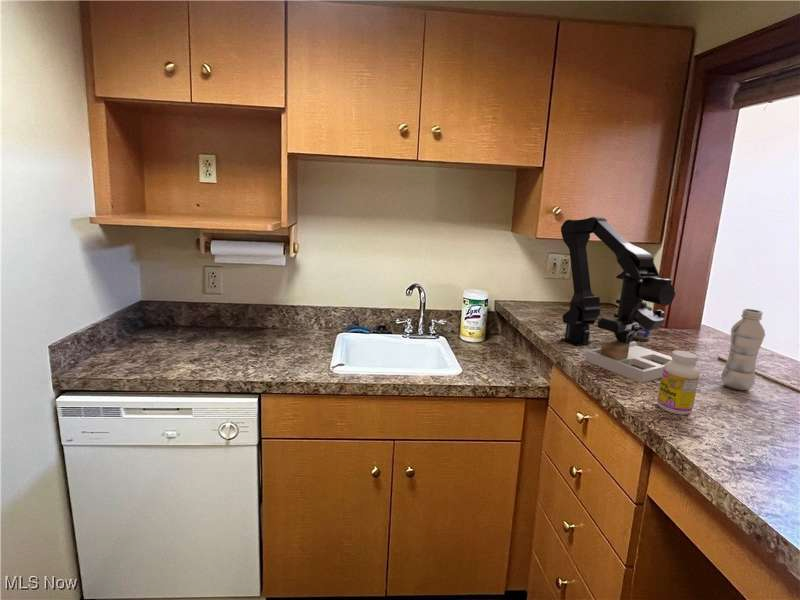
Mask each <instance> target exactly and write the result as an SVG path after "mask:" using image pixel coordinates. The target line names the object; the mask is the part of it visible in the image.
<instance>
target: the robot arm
mask: <svg viewBox="0 0 800 600" xmlns="http://www.w3.org/2000/svg"><path fill="white" fill-rule="evenodd" d="M560 233H561V236H562V241H563V242H564V244H565V245H566V246H567V247H568V250H569V259H570V267H571V268H570V269H571V276H572V284H573V295H572V298H571V300H570V302H569V305H570V306H569V310H567V312H565V313H564V314H563V315H562V318H561V319H562V322H563V323H564V324H566V327H565V334H564V337H562V338H561V341H564V342H566V343H570V344H571V345H574V346H583V345H589V344H591V341H590V340H589V339H590V333H591V332H590V331H591V330H590V327H591V325H594V324H595V323H596V320H597V319H598V318H599V316H601V315H600V314H601V310H602V308H601V301H600V300H601V299H600V296H598V295H597V296H595V295H594V294H593V292H592V288H591V287H592V286H591V279H590V270H589V269H590V268H589V261H588V260H589V259H588V252H587V246H588V243H589V241H590V238H591V234H594V235H595V236H596V237H597V238H598V239H599V240H600V241H601V242H602V243H603V244H604V245H605V246H606V247H607V248H608V249H609V250H610V251H611V252H612V253H613V254H614V255H615V257H616V262H617V264H618V265H619V266H620V268H621V270H622V272H621V273H619V274H618V275H616V277H615V278H616V279H618V280H622V282H621V283H622V284H621V288H620V289H621V290H620V296H619V299H615V304H618V308H617V312H615V313H614V314H613V317H611V316H605V317H604V316H603V317H600V318H599V319H598V320H597V326H596V327H597V328H599V329H602V330H606V331H609V332H612V333H613V334H614V335H615V338H616V340H617V341H620V342H623V343H626V344H630V342H632V340H634V339H633V337H634V335H635V334H636V333H638V332H640V331H642V330H643V328H640V327H639V325H638V324H640V325H641V326H643V327H644V328H645V329H646V330H649V331H653V330H658V329H659V327H660V326H661V324H665V319H666V318H665V316H666V315H665V311H663V310H661V309H657V310H655V311H653V309H652V310H651V311H650V310H648V309H646V307H647V306H648V304H647V302H648V303H652V304H656V305H660V306H664V307H666V306H669V305H671V304H672V302H673V301H674V299H675V295H676V291H675V287H674V285H672V279H671V278H661V276H660V273H659V270H658V268H657V266H656V264H655V262H654V261H655V258H654V256H653V254H651V253H650V252H648V251H647V250H645V249H643V248H641V247H639V246H637V245H634V244H632V243H631V242H630V241H628V240H627V239H626V238H625V237H624V236H623V235H622V234H621V233H620V232H619V231H617V229H615V228H614V227H613V226H612V225H611V224H610V223H609V222H608V220H607V219H606V218H604V217H603V216H602V217H601V216H600V217H599V216H592V217H588V218H584V219H566V220H565V221H564V222H563V223H562V225H560Z"/></svg>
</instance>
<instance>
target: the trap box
mask: <svg viewBox="0 0 800 600" xmlns="http://www.w3.org/2000/svg"><path fill="white" fill-rule="evenodd" d="M629 345H630V346H629V352H628V358H627V359H622V360H618V361H617V360H614V359H611V358H609V357H606V356H603V355H600V353H601V347H597V348H593V349H588V350H585V355H584V356H585V357H584V361H585V362H587V361H588V362H587V363H590V364H592V363H593V365H594V366H597V365H598V367H600V368H603V369H606V370H607V371H610V372H613V373H616V374H617V375H620V376H623V377H625V378H628V379H630V380H633V381H636V382H638V383H640V384H643V383H647V382H651V381H654V380H655V381H656V380H658V379H662V375H663V370H664V366H665V364H666V363H667V362H669V361H672V357H671V356H672V355H671V356H670V355H668V354H663V353H660V352H658V351H654V350H652V349H649V348H645V347H642V346H640V345H638V342H637V341H636V340H634V341H631V342H630V344H629Z"/></svg>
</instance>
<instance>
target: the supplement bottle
mask: <svg viewBox="0 0 800 600" xmlns="http://www.w3.org/2000/svg"><path fill="white" fill-rule="evenodd" d="M671 357H672V361H669V362H667V363H666V364H665V366H664V370H663V375H662V378H661V381H660V387H659V391H658V396H657V401H656V402H657V403H656V404H657V406H658V407H660V409H662V410H664V411H666V412H668V413H669V414H670V413H671V414H674V415H681V416H683V415H689V414H691V413H692V412H693V407H694V404H695V398H696V395H697V390H698V384H699V379H700V375H701V372H700V369H699V368H698V366H696V364H697V363H698V355H697V354H695V353H693V352H691V351H686V350H685V351H684V350H678V349H677V350H672V352H671Z"/></svg>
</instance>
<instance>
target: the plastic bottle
mask: <svg viewBox="0 0 800 600" xmlns="http://www.w3.org/2000/svg"><path fill="white" fill-rule="evenodd" d="M741 313H742V314H741V315H740V316H741V319H740V320H738V321H737V322H735V324H733V326H732V327H731V329H730V347H729V352H728V357H727V360H726V363H725V366H724V367H723V369H722V372H721V376H720V379H721V383H722V384H723V385H724V386H726V387H728V388H731V389H734V390H739V391H749V390H751V389H752V388H753V387H754V385H755V382H756V381H755V380H756V374H755V372H756V371H755V370H756V363H757V360H758V359H757V358H758V354H759V352H760V348H761V345H762V343H763V342H764V339H765V336H766V331H765V329H764V327H763V325H762V324H761V322H760V321H762V319H763V311H761V310H757V309H751V308H744V309H743V310H742V312H741Z"/></svg>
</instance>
